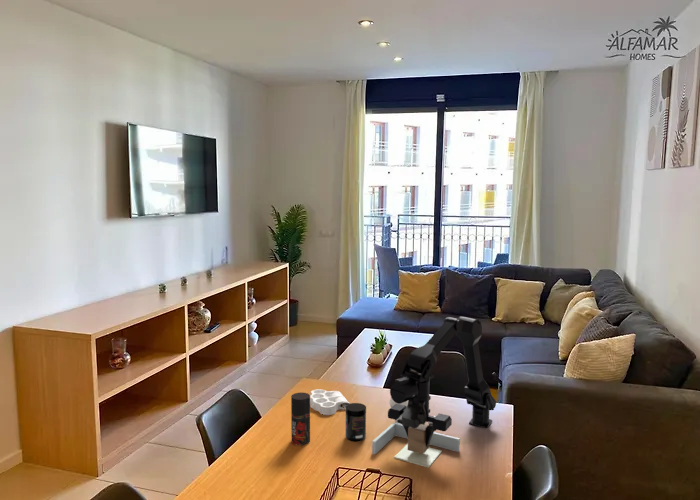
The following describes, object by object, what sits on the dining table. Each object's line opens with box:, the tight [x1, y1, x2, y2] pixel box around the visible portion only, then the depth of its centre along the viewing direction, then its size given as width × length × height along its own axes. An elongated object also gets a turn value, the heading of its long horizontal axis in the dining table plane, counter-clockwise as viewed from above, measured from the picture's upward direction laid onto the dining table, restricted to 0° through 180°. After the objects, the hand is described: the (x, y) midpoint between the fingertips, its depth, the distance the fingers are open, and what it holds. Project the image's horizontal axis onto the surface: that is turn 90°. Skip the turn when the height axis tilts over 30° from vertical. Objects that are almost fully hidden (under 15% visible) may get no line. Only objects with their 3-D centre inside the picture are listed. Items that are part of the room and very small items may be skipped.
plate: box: [394, 442, 443, 469], centre depth 158 cm, size 11×11×1 cm
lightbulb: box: [389, 397, 408, 424], centre depth 179 cm, size 6×6×11 cm
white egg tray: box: [309, 388, 351, 416], centre depth 196 cm, size 3×18×15 cm
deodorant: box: [290, 392, 311, 446], centre depth 166 cm, size 6×6×15 cm
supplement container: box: [344, 402, 367, 443], centre depth 169 cm, size 7×7×10 cm
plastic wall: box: [371, 422, 461, 455], centre depth 160 cm, size 16×22×4 cm
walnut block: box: [407, 423, 430, 454], centre depth 158 cm, size 5×5×7 cm
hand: (418, 443), depth 158 cm, fingers closed on walnut block, 5 cm apart
